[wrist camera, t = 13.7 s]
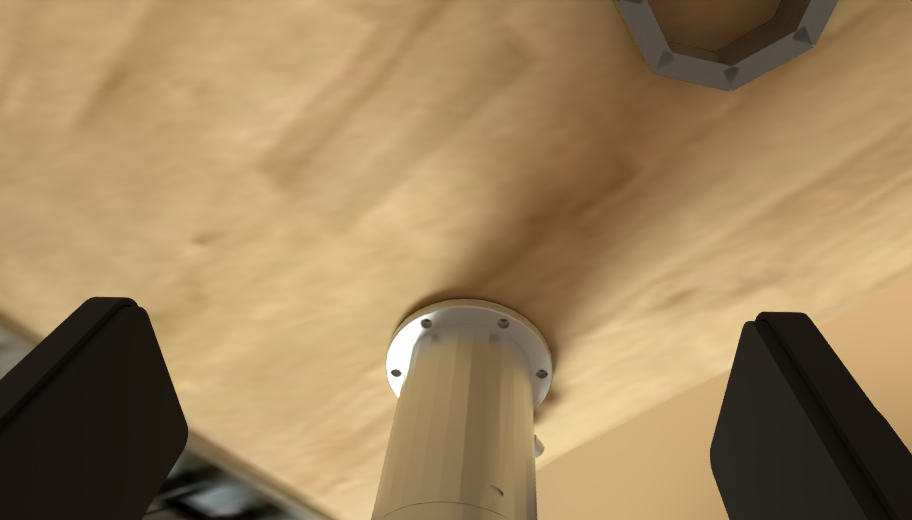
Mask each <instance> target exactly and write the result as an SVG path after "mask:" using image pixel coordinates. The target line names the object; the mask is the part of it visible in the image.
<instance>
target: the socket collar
mask: <svg viewBox="0 0 912 520" xmlns="http://www.w3.org/2000/svg"><path fill="white" fill-rule="evenodd" d="M613 1H614V3H615V5H616V7H617V9H618V11H619V13H620V15H621V17H622V19H623V21H624V24H625V26H626V28H627V30H628V32H629V34H630V36H631V38H632V40H633V42H634V44H635V46H636V48H637V50H638V52H639V54H640V56H641V58H642V60H643V61H644V62H645V64H646V65H647V66H648V68H649V69H650V70H651V72H652V73H654V74H656V75H660V76H664V77H669V78H673V79H677V80H682V81H686V82H691V83H695V84H699V85H704V86H708V87H713V88H717V89H721V90H726V91H730V89H731V90H732V91H733V90H735V89H737V88H738V87H740V86H742V85H744V84H746V83H748V82H750V81H751V80H753V79H755V78H757V77H759V76H761V75H763V74H764V73H766V72H768V71H770V70H772V69H774V68H776V67H777V66H779V65H781V64H783V63H785V62H787V61H789V60H790V59H792V58H794V57H796V56H798V55H800V54H802V53H803V52H805V51H807V50H809V49H811V48H813V46H812V44H813V45H816V43H817V41H818V39H819V37H820V35H821V33H822V31H823V29H824V27H825V25H826V23H827V21H828V19H829V17H830V15H831V13H832V11H833V9H834V7H835V6H836V4H837V2H838V0H782V1H781V3H780V6H779V8H778V10H777V12H776V14H775V16H774V19H772V20H771V21H769V22H767V23H765V24H764V25H762V26H760V27H758V28H757V29H755V30H753V31H751V32H750V33H748V34H746V35H744V36H742V37H741V38H739V39H737V40H735V41H734V42H732V43H730V44H728V45H727V46H725V47H723V48H721V49H720V50H718V51H716V52H711V51H707V50H703V49H698V48H694V47H690V46H685V45H681V44H677V43H672V42H668V41H666V40H665V37H664V35H663V33H662V31H661V29H660V27H659V25H658V22H657V20H656V18H655V16H654V14H653V12H652V10H651V7H650V5H649V3H648V1H647V0H613Z"/></svg>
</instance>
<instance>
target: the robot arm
mask: <svg viewBox="0 0 912 520" xmlns="http://www.w3.org/2000/svg"><path fill="white" fill-rule="evenodd" d="M386 374H387V377H388V380H389V383H390V386H391V388H392V389H393V391H394V392H395V394H396V396H397V397H398V402H397V406H396V411H395V415H394V420H393V424H392V429H391V433H390V438H389V442H388V447H387V451H386V456H385V460H384V465H383V469H382V474H381V478H380V483H379V487H378V492H377V496H376V501H375V505H374V510H373V514H372V519H371V520H537V499H536V472H535V458H537V457H539V456H540V455H541V454H542V453H543V451H544V445H543V444H542V442H541V441H540V440H539V439H538V437H537V436H536V435H535V434H534V420H533V411H534V410H535V409H536V408H537V407H538V406H539V405H540V404H541V402H542V401H543V400H544V399H545V397H546V395H547V393H548V391H549V389H550V385H551V381H552V360H551V354H550V350H549V347H548V345H547V343H546V340H545V339H544V337H543V336H542V334H541V333H540V332H539V330H538V329H537V328H536V327H535V326H534V325H533V324H532V323H531V322H530V321H529V320H527V319H526V318H525V317H523V316H522V315H520V314H519V313H517V312H515V311H514V310H512V309H509V308H507V307H504V306H502V305H500V304H497V303H492V302H488V301H484V300H476V299H454V300H446V301H442V302H438V303H434V304H431V305H429V306H426V307H424V308H422V309H420V310H418V311H416V312H415V313H413V314H412V315H410V316H409V317H408V318H406V319H405V320H404V321H403V323H402V324H401V325H400V326H399V327H398V328H397V330H396V331H395V333H394V335H393V337H392V338H391V341H390V344H389V348H388V351H387V357H386ZM187 438H188V426H187V423H186V420H185V417H184V414H183V412H182V409H181V406H180V403H179V400H178V398H177V395H176V392H175V389H174V386H173V384H172V381H171V378H170V375H169V372H168V370H167V367H166V364H165V361H164V358H163V356H162V353H161V350H160V347H159V344H158V341H157V339H156V336H155V333H154V330H153V327H152V325H151V322H150V319H149V316H148V314H147V312H146V310H145V309H143V308H142V307H138V305H137V303H136V302H135V301H134V300H133V299H130V298H125V297H93V298H90V299H88V300H87V301H85V302H84V303H83V304H82V305H81V306H80V307H79V308H78V309H76V310H75V311H74V312H73V313H72V314H71V315H70V316H69V317H68V318H67V319H66V320H65V321H63V322H62V323H61V324H60V325H59V326H58V327H57V328H56V329H55V330H54V331H53V332H52V333H50V334H49V335H48V336H47V337H46V338H45V339H44V340H43V341H42V342H41V343H40V344H39V345H37V346H36V347H35V348H34V349H33V350H32V351H31V352H30V353H29V354H28V355H27V356H25V357H24V358H23V359H22V360H21V361H20V362H19V363H18V364H17V365H16V366H15V367H14V368H12V369H11V370H10V371H9V372H8V373H7V374H6V375H5V376H4V377H3V378H2V379H1V380H0V520H141V519H142V517H143V516H144V514H145V512H146V511H147V509H148V507H149V506H150V504H151V503H152V501H153V499H154V498H155V496H156V494H157V493H158V491H159V489H160V488H161V486H162V484H163V483H164V481H165V479H166V478H167V476H168V474H169V473H170V471H171V469H172V468H173V466H174V465H175V463H176V461H177V460H178V458H179V456H180V455H181V453H182V451H183V450H184V448H185V445H186V442H187ZM710 462H711V468H712V472H713V475H714V477H715V480H716V483H717V486H718V489H719V492H720V494H721V497H722V500H723V502H724V506H725V508H726V511H727V514H728V517H729V519H730V520H912V454H911V453H910V452H909V450H908V449H907V447H906V446H905V445H904V443H903V442H902V441H901V439H900V438H899V437H898V435H897V434H896V432H895V431H894V430H893V428H892V427H891V426H890V424H889V423H888V422H887V420H886V419H885V418H884V417H883V416H882V415H881V413H880V412H879V411H878V410H877V409H876V408H875V407H874V405H873V404H872V403H871V401H870V400H869V398H868V397H867V396H866V394H865V393H864V392H863V390H862V389H861V388H860V386H859V385H858V383H857V382H856V381H855V380H854V378H853V377H852V375H851V374H850V373H849V371H848V370H847V369H846V367H845V366H844V364H843V363H842V362H841V360H840V359H839V357H838V356H837V355H836V353H835V352H834V351H833V349H832V348H831V346H830V345H829V344H828V342H827V341H826V340H825V338H824V337H823V335H822V334H821V333H820V331H819V330H818V329H817V327H816V326H815V325H814V323H813V322H812V320H811V319H810V318H809V317H808V316H807V315H806V314H804V313H800V312H761V313H759V315H758V316H757V317H756V320H755V321H748V322H746V323H745V324H744V326H743V329H742V332H741V336H740V339H739V343H738V347H737V351H736V354H735V358H734V362H733V366H732V369H731V373H730V377H729V380H728V384H727V388H726V392H725V396H724V399H723V403H722V407H721V411H720V414H719V418H718V422H717V425H716V429H715V433H714V436H713V440H712V444H711V448H710Z"/></svg>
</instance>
